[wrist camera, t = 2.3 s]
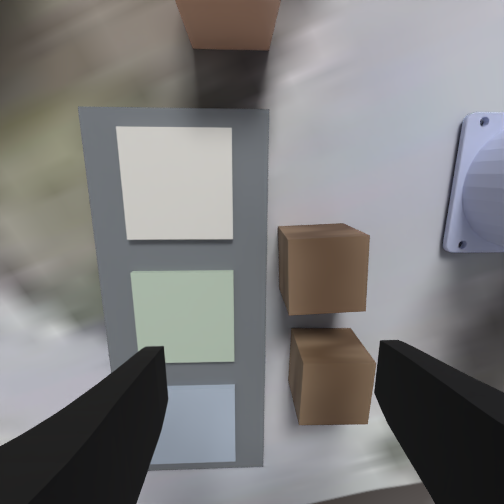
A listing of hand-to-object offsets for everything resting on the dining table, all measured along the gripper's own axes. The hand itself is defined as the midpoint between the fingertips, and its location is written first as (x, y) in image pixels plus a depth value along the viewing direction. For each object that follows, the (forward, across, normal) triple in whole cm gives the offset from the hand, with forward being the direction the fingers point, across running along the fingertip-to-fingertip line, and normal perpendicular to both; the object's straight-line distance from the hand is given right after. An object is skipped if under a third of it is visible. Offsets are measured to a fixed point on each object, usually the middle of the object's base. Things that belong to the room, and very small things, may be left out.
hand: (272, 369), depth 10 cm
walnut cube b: (+10, -4, +6) cm, 12 cm away
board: (+9, +4, +2) cm, 11 cm away
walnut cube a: (+10, -3, -1) cm, 10 cm away
